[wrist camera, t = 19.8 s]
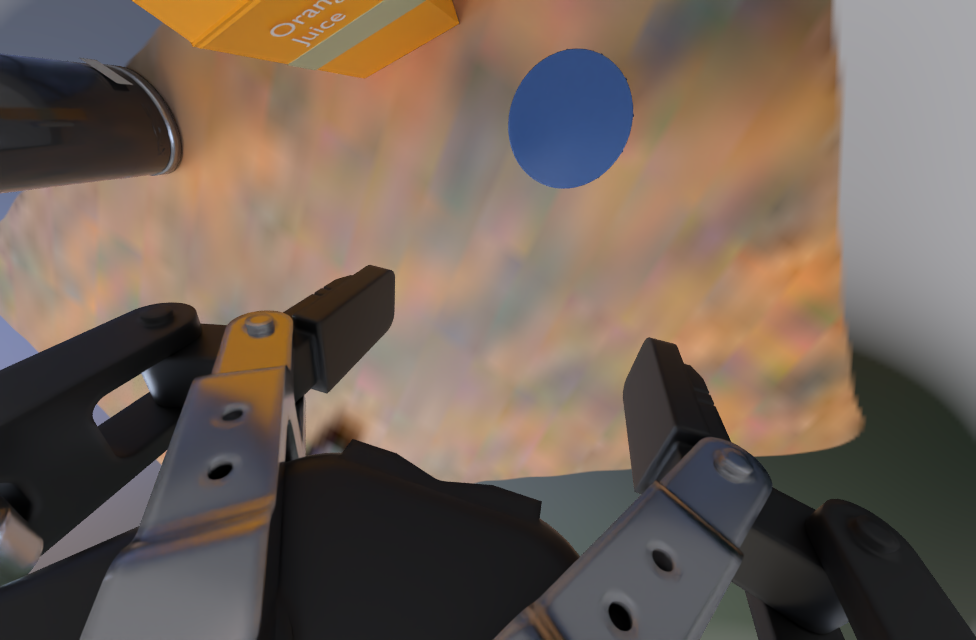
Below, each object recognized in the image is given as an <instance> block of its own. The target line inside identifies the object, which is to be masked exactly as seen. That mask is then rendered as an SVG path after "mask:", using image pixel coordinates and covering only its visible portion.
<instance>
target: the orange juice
mask: <svg viewBox="0 0 976 640" xmlns="http://www.w3.org/2000/svg"><path fill="white" fill-rule="evenodd" d="M132 1H133V2H135V3H136V4H138V5H139V6H140V7H142V8H143V9H145V10H146V11H147V12H149V13H150V14H152V15H153V16H155V17H156V18H157V19H159V20H160V21H162V22H163V23H165V24H166V25H167V26H169V27H170V28H172V29H173V30H175V31H176V32H177V33H179V34H180V35H182V36H183V37H185V38H186V39H187V40H189V41H190V42H191V44H192V46H193V47H198V48H200V49H202V48H203V49H209V50H214V51H219V52H225V53H230V54H235V55H241V56H246V57H252V58H257V59H262V60H268V61H273V62H279V63H284V64H287V65H289V66H294V67H300V68H305V69H311V70H322V71H327V72H332V73H338V74H343V75H348V76H354V77H359V78H366V77H368V76H370V75H372V74H373V73H375V72H377V71H378V70H380V69H382V68H384V67H385V66H387V65H389V64H391V63H392V62H394V61H396V60H397V59H399V58H401V57H403V56H404V55H406V54H408V53H409V52H411V51H413V50H415V49H416V48H418V47H420V46H422V45H423V44H425V43H427V42H428V41H430V40H432V39H434V38H435V37H437V36H439V35H440V34H442V33H444V32H446V31H447V30H449V29H451V28H453V27H454V26H456V25H458V24H459V21H458V18H457V15H456V12H455V8H454V5H453V2H452V0H132Z"/></svg>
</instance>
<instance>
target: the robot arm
mask: <svg viewBox="0 0 976 640" xmlns="http://www.w3.org/2000/svg"><path fill="white" fill-rule="evenodd" d="M80 59H82V60H83V61H85V62H86V63H88V64H85V63H77V62H68V61H61V60H52V59H43V58H35V57H26V56H16V55H8V54H0V193H7V192H15V191H23V190H32V189H40V188H48V187H56V186H64V185H72V184H80V183H88V182H96V181H104V180H112V179H121V178H130V177H138V176H146V175H150V176H155V175H163V174H168V173H170V172H172V171H173V170H175V169H176V167H177V166H178V164H179V161H180V158H181V140H180V135H179V131H178V128H177V125H176V123H175V120H174V118H173V116H172V114H171V112H170V110H169V108H168V107H167V105H166V103H165V102H164V100H163V99H162V98H161V96H160V95H159V94H158V92H157V91H156V90H155V89H154V88H153V87H152V86H151V85H150V84H149V83H148V82H147V81H146V80H145V79H144V78H142V77H141V76H140V75H138V74H137V73H135V72H134V71H132V70H130V69H128V68H125V67H121V66H114V65H104V64H101V63H100V62H98V61H97V60H92V59H84V58H80ZM394 305H395V275H394V272H393V271H392V270H388V269H384V268H381V267H377V266H373V265H368V266H366V267H365V268H363V269H362V270H360V271H359V272H357V273H355V274H354V275H350V276H346V277H343V278H339V279H336V280H334V281H332V282H331V283H329V284H328V285H326V286H324V289H323V288H321V289H320V290H318V291H317V292H315V294H314V295H313V294H312V295H310V296H309V297H307V298H305V299H304V300H302V301H301V302H299V303H297V304H296V305H294V306H293V307H291V308H289V309H288V310H286V311H285V312H283V313H282V312H278V311H256V312H251V313H247V314H244V315H241V316H239V317H237V318H235V319H233V320H232V321H231V322H230V323H229V324H228V325H214V324H200V321H199V318H198V315H197V312H196V310H195V308H193V307H192V306H190V305H187V304H183V303H159V304H153V305H148V306H144V307H141V308H138V309H135V310H133V311H131V312H128V313H126V314H124V315H122V316H120V317H117V318H115V319H113V320H111V321H108V322H106V323H104V324H102V325H100V326H97V327H95V328H93V329H91V330H88V331H86V332H84V333H82V334H80V335H77V336H75V337H73V338H71V339H69V340H66V341H64V342H62V343H60V344H57V345H55V346H53V347H51V348H49V349H46V350H44V351H42V352H40V353H38V354H35V355H33V356H31V357H29V358H26V359H24V360H22V361H20V362H18V363H15V364H13V365H11V366H9V367H7V368H4V369H2V370H0V640H700V638H701V636H702V634H703V633H704V631H705V629H706V627H707V625H708V623H709V622H710V620H711V618H712V616H713V614H714V612H715V610H716V609H717V607H718V605H719V603H720V601H721V599H722V598H723V596H724V594H725V592H726V590H727V588H728V586H729V585H730V583H731V582H733V583H734V584H736V585H737V586H739V587H741V588H742V589H744V590H745V593H746V596H747V600H748V604H749V607H750V611H751V614H752V618H753V621H754V625H755V629H756V632H757V636H758V639H759V640H845V639H844V637H843V634H842V632H841V630H840V628H839V627H840V626H842V625H844V624H846V623H848V622H849V623H850V625H851V627H852V629H853V631H854V633H855V636H856V638H857V640H976V636H975V635H974V633H973V632H972V631H971V629H970V628H969V626H968V625H967V624H966V622H965V621H964V619H963V618H962V616H961V615H960V614H959V612H958V611H957V609H956V608H955V607H954V605H953V604H952V602H951V601H950V599H949V598H948V597H947V595H946V594H945V592H944V591H943V590H942V588H941V587H940V585H939V584H938V583H937V581H936V580H935V578H934V577H933V575H932V574H931V573H930V571H929V570H928V568H927V567H926V566H925V564H924V563H923V561H922V560H921V558H920V557H919V556H918V554H917V553H916V552H915V550H914V549H913V548H912V547H911V545H910V544H909V543H908V542H907V541H906V540H905V539H904V538H903V537H902V536H901V535H900V534H899V533H898V532H897V531H896V530H895V529H893V528H892V527H891V526H890V525H889V524H887V523H886V522H885V521H883V520H882V519H881V518H879V517H878V516H876V515H875V514H873V513H871V512H870V511H868V510H866V509H864V508H862V507H860V506H858V505H856V504H854V503H851V502H848V501H844V500H840V499H830V500H827V501H826V502H825V503H824V504H823V505H822V506H820V507H819V508H818V509H817V510H815V509H813V508H811V507H809V506H807V505H805V504H803V503H801V502H799V501H797V500H795V499H794V498H792V497H790V496H788V495H786V494H784V493H782V492H780V491H778V490H777V489H775V488H773V487H772V481H771V479H770V476H769V474H768V473H767V471H766V470H765V468H764V467H763V466H762V465H761V463H759V461H758V460H757V459H756V458H754V457H753V456H752V455H751V454H750V453H748V452H747V451H746V450H744V449H742V448H741V447H739V446H738V445H736V444H734V443H732V442H731V441H730V438H729V436H728V434H727V432H726V429H725V427H724V425H723V423H722V420H721V418H720V416H719V413H718V411H717V409H716V407H715V406H714V402H713V400H712V398H711V395H709V391H708V389H707V386H706V384H705V382H704V380H703V378H702V377H701V376H700V375H699V374H698V373H697V372H696V371H695V370H694V369H693V368H692V367H691V366H690V365H687V364H684V363H683V360H682V358H681V355H680V353H679V350H678V347H677V345H676V344H673V343H669V342H665V341H661V340H657V339H653V338H647V339H646V340H645V341H644V343H643V345H642V347H641V349H640V351H639V353H638V355H637V357H636V359H635V361H634V364H633V366H632V368H631V370H630V372H629V374H628V376H627V378H626V381H625V385H624V390H623V402H624V410H625V418H626V426H627V434H628V442H629V451H630V459H631V467H632V475H633V483H634V491H635V492H636V493H639V494H641V496H639V497H638V499H637V500H635V502H634V503H633V504H631V506H630V507H629V508H628V509H627V510H626V511H625V512H624V513H623V514H622V515H621V516H620V517H619V518H618V519H617V520H616V521H615V522H614V523H613V524H612V525H611V526H610V527H609V528H608V529H607V530H606V531H605V532H604V533H603V534H602V535H601V536H600V537H599V538H598V539H597V540H596V541H595V542H594V543H593V544H592V545H591V546H590V547H589V548H588V549H587V550H586V551H585V552H584V553H583V554H582V555H581V556H579V555H578V553H577V552H576V551H575V550H574V548H573V547H572V546H571V545H570V544H569V542H567V540H566V539H564V538H563V537H562V536H561V535H560V534H559V533H558V532H557V531H556V530H555V529H553V528H552V527H551V526H550V525H548V524H547V523H546V522H544V521H542V520H541V519H540V511H541V503H542V501H538V500H536V499H533V498H529V497H526V496H523V495H521V494H517V493H515V492H512V491H508V490H505V489H502V488H499V487H496V486H493V485H482V484H471V483H459V482H446V481H440V480H437V479H435V478H434V477H432V476H430V475H429V474H427V473H426V472H424V471H423V470H421V469H420V468H418V467H417V466H415V465H413V464H412V463H410V462H409V461H407V460H406V459H404V458H403V457H401V456H400V455H398V454H397V453H394V452H391V451H388V450H385V449H381V448H378V447H375V446H372V445H369V444H366V443H363V442H360V441H357V440H354V439H352V440H351V442H350V443H349V445H348V446H347V447H346V449H345V450H344V451H343V453H322V454H315V455H310V456H306V400H305V394H306V393H307V392H308V391H309V390H310V389H314V390H317V391H320V392H324V393H328V392H329V391H330V390H331V389H332V388H333V387H334V386H335V385H336V384H337V383H338V382H339V381H340V380H341V379H342V378H343V377H344V376H345V375H346V374H347V372H348V371H349V370H350V369H351V368H352V367H353V366H354V365H355V364H356V363H357V362H358V361H359V360H360V359H361V358H362V357H363V356H364V355H365V354H366V353H367V352H368V351H369V350H370V348H371V347H372V346H373V345H374V344H375V343H376V342H377V341H378V340H379V339H380V338H381V337H382V336H383V335H384V334H385V333H386V332H387V331H388V329H389V328H390V326H391V324H392V321H393V318H394ZM139 374H142V376H143V378H144V380H145V382H146V384H147V386H148V389H149V391H150V392H149V393H147V394H146V395H144V396H143V397H141V398H140V399H138V400H137V401H135V402H134V403H132V404H131V405H129V406H128V407H126V408H125V409H123V410H122V411H120V412H119V413H117V414H116V415H114V416H113V417H111V418H110V419H108V420H107V421H105V422H104V423H102V424H101V425H99V426H98V427H97V425H96V423H95V422H94V420H93V416H92V415H93V414H92V413H93V410H94V407H95V405H96V404H97V403H98V401H99V400H100V399H101V398H102V397H104V396H105V395H106V394H108V393H110V392H111V391H113V390H115V389H116V388H118V387H120V386H121V385H123V384H124V383H126V382H128V381H129V380H131V379H133V378H134V377H136V376H138V375H139ZM166 450H167V452H166V455H165V458H164V460H163V463H162V466H161V469H160V471H159V474H158V477H157V479H156V482H155V485H154V488H153V491H152V493H151V496H150V499H149V501H148V504H147V507H146V509H145V512H144V515H143V518H142V520H141V523H140V526H138V527H136V528H134V529H132V530H129V531H127V532H125V533H122V534H120V535H118V536H115V537H113V538H111V539H109V540H107V541H104V542H102V543H99V544H97V545H95V546H93V547H90V548H88V549H86V550H83V551H81V552H79V553H76V554H74V555H72V556H70V557H68V558H65V559H63V560H60V561H58V562H56V563H54V564H51V565H49V566H47V567H45V568H42V569H40V570H37V571H35V572H33V573H31V574H28V573H29V572H30V571H31V570H32V569H33V567H34V566H35V564H36V563H37V561H38V560H39V558H40V556H41V555H43V554H44V553H45V552H46V551H47V550H49V549H50V548H51V547H52V546H53V545H55V544H56V543H57V542H58V541H59V540H61V539H62V538H63V537H64V536H65V535H66V534H68V533H69V532H70V531H71V530H72V529H73V528H75V527H76V526H77V525H78V524H80V523H81V522H82V521H83V520H84V519H85V518H87V517H88V516H89V515H90V514H91V513H93V512H94V511H95V510H96V509H97V508H99V507H100V506H101V505H102V504H103V503H104V502H106V500H108V499H109V498H110V497H112V496H113V495H114V494H115V493H116V492H117V491H119V490H120V489H121V488H122V487H123V486H125V485H126V484H127V483H128V482H129V481H131V480H132V479H133V478H134V477H135V476H137V475H138V474H139V473H140V472H141V471H142V470H144V469H145V468H146V467H147V466H148V465H150V464H151V463H152V462H153V461H154V460H156V459H157V458H158V457H159V456H160V455H162V454H163V453H164V452H165V451H166Z"/></svg>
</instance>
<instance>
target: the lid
mask: <svg viewBox="0 0 976 640" xmlns="http://www.w3.org/2000/svg"><path fill="white" fill-rule="evenodd" d="M633 117H634V114H633V102H632V96H631V92H630V88H629V85H628V83H627V79H626V78H625V77H624V75H623V74H622V72H621V71H620V69H619V68H618V67H617V66H616V65H615V64H614V63H613V62H612V61H611V60H610V59H608V58H607V57H605V56H604V55H603V54H600V53H597V52H595V51H591V50H587V49H566V50H564V51H560V52H557V53H555V54H552V55H550V56H548V57H547V58H545V59H543V60H542V61H540V62H539V63H538V64H537V65H535V66H534V67H533V68H532V69H531V70H530V71H529V73H528V74H527V75H526V76H525V78H524V79H523V80H522V82H521V84H520V85H519V87H518V89H517V91H516V93H515V95H514V98H513V101H512V104H511V108H510V113H509V121H508V133H509V140H510V144H511V148H512V151H513V153H514V156H515V158H516V160H517V162H518V163H519V165H520V166H521V167H522V169H523V170H524V171H525V172H526V173H527V174H528V175H529V176H530V177H532V178H533V179H534V180H536V181H538V182H539V183H541V184H544V185H546V186H550V187H553V188H574V187H578V186H582V185H585V184H587V183H589V182H591V181H593V180H595V179H597V178H599V177H600V176H601V175H602V174H604V173H605V172H606V171H607V170H608V169H609V168H610V167H611V166H612V165H613V164H614V162H615V161H616V160H617V159H618V157H619V156H620V154H621V153H622V152H623V149H624V147H625V145H626V143H627V140H628V137H629V135H630V131H631V126H632V120H633Z"/></svg>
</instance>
